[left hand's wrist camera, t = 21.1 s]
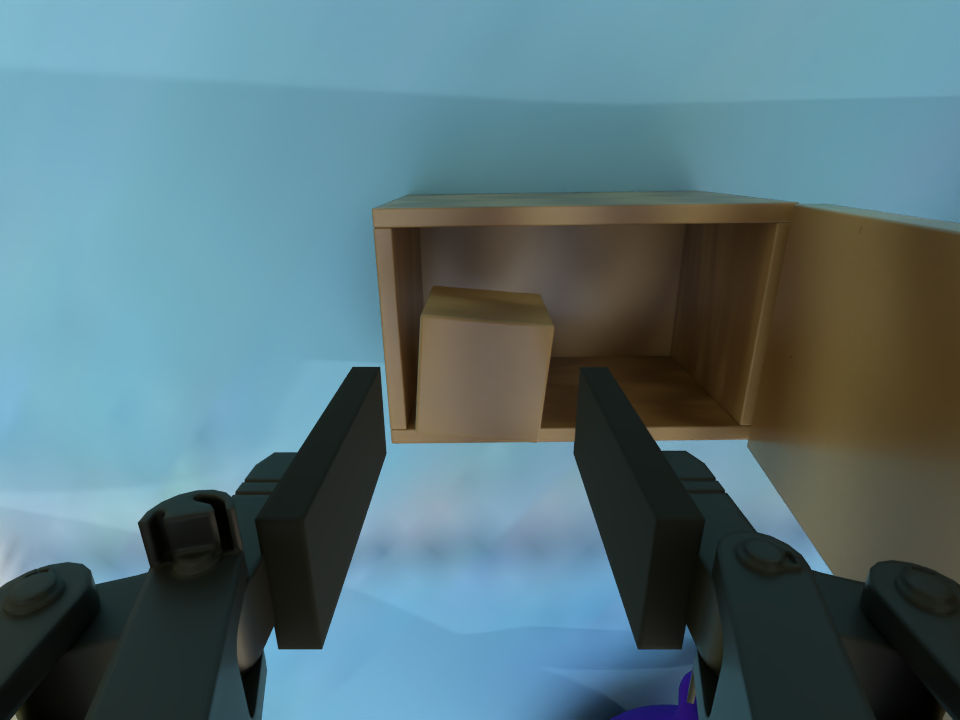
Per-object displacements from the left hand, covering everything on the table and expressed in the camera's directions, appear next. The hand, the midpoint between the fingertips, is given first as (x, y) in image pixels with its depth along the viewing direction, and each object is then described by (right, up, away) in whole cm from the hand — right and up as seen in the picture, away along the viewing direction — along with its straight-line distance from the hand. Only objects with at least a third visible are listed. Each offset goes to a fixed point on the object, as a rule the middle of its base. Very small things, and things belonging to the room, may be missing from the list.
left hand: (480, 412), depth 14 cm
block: (0, +2, +6) cm, 6 cm away
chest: (+4, +6, +16) cm, 17 cm away
